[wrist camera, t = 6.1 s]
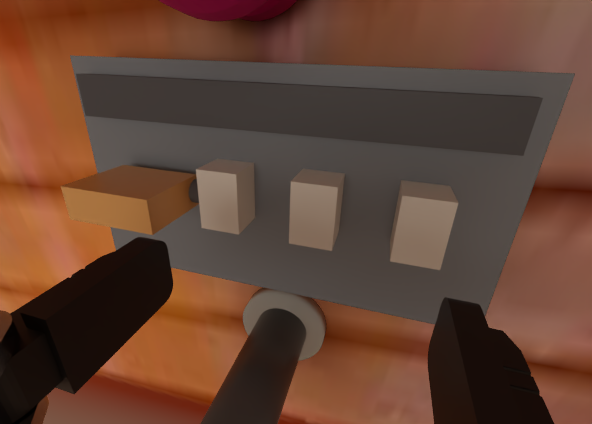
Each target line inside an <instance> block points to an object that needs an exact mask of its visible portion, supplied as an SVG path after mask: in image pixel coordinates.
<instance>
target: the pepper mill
mask: <svg viewBox="0 0 592 424" xmlns="http://www.w3.org/2000/svg"><path fill="white" fill-rule="evenodd" d="M159 1H161V2H162V3H164V4H166V5H168V6H170V7H172V8H174V9H176V10H178V11H180V12H183V13H185V14H187V15H190V16H192V17H195V18H197V19H202V20H208V21H226V20H234V19H237V18H240V19H243V20H248V21H262V20H266V19H270V18H273V17H275V16H277V15H279V14H281V13H283V12H285V11H286V10H287V9H289V8H290V7H291V6H292V5H293V4H294V3H295V2H296V1H297V0H159Z"/></svg>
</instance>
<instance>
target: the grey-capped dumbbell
mask: <svg viewBox="0 0 592 424" xmlns="http://www.w3.org/2000/svg"><path fill="white" fill-rule="evenodd" d="M243 324H244V327H245V330H246V332H247V334H248V336H249V337H248V338H247V340H246V342H245V344H244V346H243V348H242V349H241V351H240V353H239V355H238V357H237V358H236V360H235V362H234V364H233V366H232V368H231V369H230V371H229V373H228V375H227V377H226V378H225V380H224V382H223V384H222V386H221V388H220V389H219V391H218V393H217V395H216V397H215V398H214V400H213V402H212V404H211V406H210V407H209V409H208V411H207V413H206V415H205V417H204V418H203V421H202V422H201V424H277V423H278V420H279V417H280V414H281V411H282V408H283V405H284V402H285V399H286V396H287V393H288V390H289V387H290V384H291V381H292V378H293V375H294V372H295V369H296V366H297V363H298V361H299V360H304V359H307V358H310V357H312V356H313V355H315V354H316V353H317V352H318V351H319V349H320V348H321V346H322V343H323V340H324V336H325V332H326V320H325V317H324V314H323V312H322V310H321V308H320V307H319V306H318V304H317V303H316V302H315V301H314V300H313V299H312V298H310V297H306V296H301V295H296V294H292V293H287V292H283V291H278V290H273V289H269V288H262V289H260V290H258V291H257V292H256V293H255V294H254V295H253V296H252V298H251V299H250V301H249V303H248V304H247V306H246V307H245V310H244V313H243Z"/></svg>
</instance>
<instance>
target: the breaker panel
mask: <svg viewBox="0 0 592 424" xmlns="http://www.w3.org/2000/svg"><path fill="white" fill-rule="evenodd" d="M70 57H71V62H72V66H73V70H74V74H75V79H76V83H77V87H78V91H79V96H80V100H81V104H82V108H83V112H84V117H85V121H86V125H87V129H88V134H89V138H90V142H91V146H92V150H93V155H94V159H95V163H96V167H97V172H98V173H101V172H104V171H107V170H110V169H113V168H116V167H119V166H121V165H129V166H136V167H144V168H151V169H159V170H166V171H174V172H182V173H189V174H196V177H197V187H198V197H199V204H198V205H197V206H195V207H194V208H192V209H191V210H189V211H188V212H186V213H185V214H183V215H182V216H180V217H179V218H177V219H176V220H174V221H173V222H171V223H170V224H168V225H167V226H165V227H164V228H162V229H161V230H159V231H158V232H157V233H155V234H154V235H150V234H145V233H139V232H134V231H129V230H124V229H118V228H113V227H111V231H112V235H113V239H114V244H115V248H116V250H118V249H119V248H121V247H122V246H124V245H126V244H127V243H129V242H130V241H132V240H133V239H135V238H137V237H145V238H150V239H155V240H160V241H164V242H165V243H166V245H167V247H168V253H169V259H170V266H171V268H176V269H181V270H185V271H190V272H195V273H199V274H204V275H208V276H213V277H218V278H222V279H227V280H232V281H236V282H241V283H246V284H250V285H255V286H259V287H264V288H269V289H273V290H278V291H283V292H287V293H292V294H296V295H301V296H306V297H310V298H315V299H320V300H324V301H329V302H333V303H338V304H343V305H347V306H352V307H357V308H361V309H366V310H370V311H375V312H380V313H384V314H389V315H394V316H398V317H403V318H407V319H412V320H417V321H421V322H426V323H431V324H436V320H437V317H438V313H439V310H440V306H441V303H442V301H443V299H444V298H445V297H447V298H452V299H457V300H462V301H467V302H472V303H477V304H479V305H480V306H481V308H482V311H483V313H484V316H485V315H486V312H487V309H488V307H489V304H490V301H491V299H492V296H493V293H494V291H495V288H496V285H497V282H498V280H499V277H500V274H501V272H502V269H503V266H504V264H505V261H506V258H507V256H508V253H509V250H510V247H511V245H512V242H513V239H514V237H515V234H516V231H517V229H518V226H519V223H520V221H521V218H522V215H523V212H524V210H525V207H526V204H527V202H528V199H529V196H530V194H531V191H532V188H533V186H534V183H535V180H536V177H537V175H538V172H539V169H540V167H541V164H542V161H543V159H544V156H545V153H546V151H547V148H548V145H549V143H550V140H551V137H552V134H553V132H554V129H555V126H556V124H557V121H558V118H559V116H560V113H561V110H562V108H563V105H564V102H565V99H566V97H567V94H568V91H569V89H570V86H571V83H572V81H573V78H574V75H575V74H574V73H546V72H518V71H489V70H461V69H433V68H405V67H376V66H348V65H320V64H292V63H263V62H235V61H207V60H179V59H150V58H122V57H94V56H70Z"/></svg>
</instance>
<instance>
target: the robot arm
mask: <svg viewBox="0 0 592 424" xmlns="http://www.w3.org/2000/svg"><path fill="white" fill-rule="evenodd" d="M172 289H173V279H172V272H171V266H170V259H169V253H168V247H167V245H166V243H165V242H164V241H160V240H155V239H150V238H145V237H137V238H135V239H133V240H132V241H130V242H129V243H127V244H126V245H124V246H122V247H121V248H119V249H118V250H116V251H115V252H112V253H109V254H107V255H104V256H102V257H100V258H98V259H97V260H95V261H94V262H92V263H90V264H89V265H87V266H86V267H85V269H81V270H79V271H78V272H76V273H74V274H73V275H72V277H71V278H66V279H65V280H63V281H62V282H60V283H59V284H57V285H55V286H54V287H52V288H51V289H49V290H47V291H46V292H44V293H43V294H41V295H39V296H38V297H36V298H35V299H33V300H31V301H30V302H28V303H27V304H25V305H24V306H22V307H20V308H19V309H17V310H16V311H14V312H12V313H8V312H6V311H0V424H43V420H44V417H45V415H46V412H47V408H48V404H49V401H48V397H47V394H49V393H50V392H51V391H52V390H53V389H54V388H55V387H56V388H58V389H61V390H64V391H67V392H70V393H72V394H75V393H76V392H77V391H78V390H79V389H80V388H81V387H82V386H83V385H84V384H85V383H86V382H87V381H88V380H89V379H90V378H91V377H92V376H93V375H94V374H95V373H96V372H97V371H98V370H99V369H100V368H101V367H102V366H103V365H104V364H105V363H106V362H107V361H108V360H109V359H110V358H111V357H112V356H113V355H114V354H115V353H116V352H117V351H118V350H119V349H120V348H121V347H122V346H123V345H124V344H125V343H126V342H127V341H128V340H129V339H130V338H131V337H132V336H133V335H134V334H135V333H136V332H137V331H138V330H139V329H140V328H141V327H142V326H143V325H144V324H145V323H146V322H147V321H148V320H149V319H150V318H151V317H152V316H153V315H154V314H155V313H156V312H157V311H158V310H159V309H160V308H161V307H162V306H163V305H164V304H165V303H166V301H167V300H168V299H169V297H170V295H171V292H172ZM428 372H429V381H430V390H431V398H432V407H433V416H434V424H554V422H553V420H552V418H551V416H550V413H549V411H548V409H547V407H546V405H545V402H544V400H543V398H542V397H541V396H540V395H539V392H540V391H539V389H538V387H537V385H536V383H535V380H534V378H533V377H531V372H530V369H529V367H528V365H527V363H526V361H525V358H524V356H523V354H522V352H521V350H520V349H519V348H518V347H517V346H516V345H515V344H514V343H513V341H512V340H511V339H510V338H509V337H508V336H507V335H506V334H505V333H504V332H503V331H501V330H497V329H492V328H489V327H488V324H487V321H486V319H485V316H484V313H483V311H482V308H481V306H480V305H479V304H477V303H472V302H467V301H462V300H457V299H452V298H447V297H445V298H444V299H443V301H442V303H441V306H440V310H439V313H438V317H437V320H436V324H435V327H434V330H433V334H432V337H431V341H430V345H429V351H428Z"/></svg>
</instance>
